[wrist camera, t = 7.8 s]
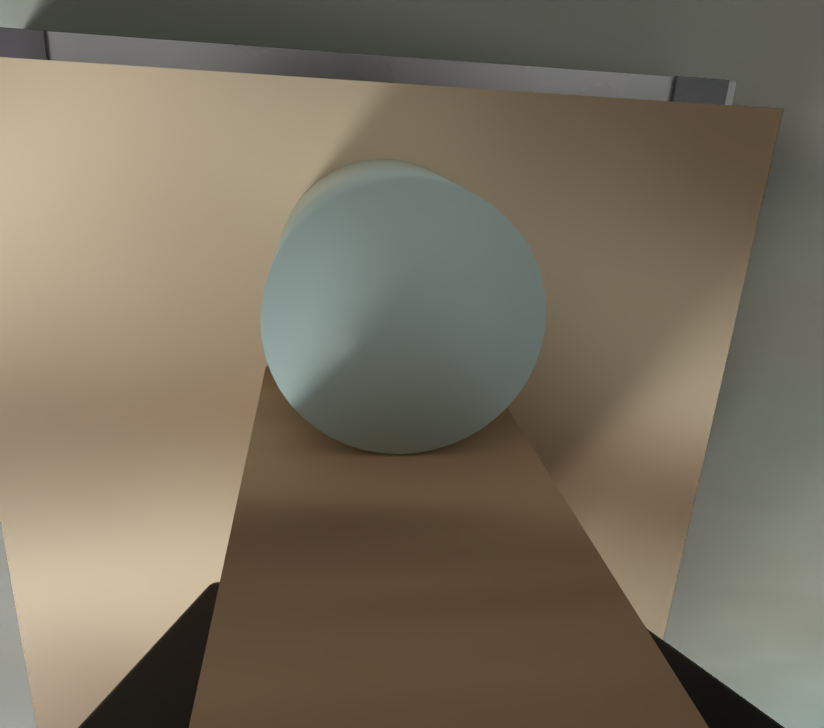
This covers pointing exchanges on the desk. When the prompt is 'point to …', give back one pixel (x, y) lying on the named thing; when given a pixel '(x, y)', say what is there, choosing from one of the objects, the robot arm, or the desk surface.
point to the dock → (356, 67)
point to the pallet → (190, 309)
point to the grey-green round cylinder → (400, 309)
